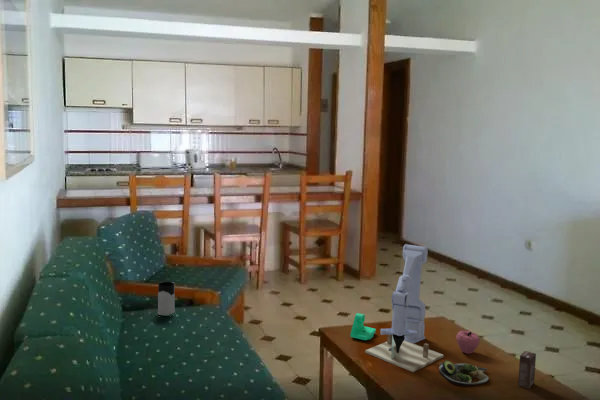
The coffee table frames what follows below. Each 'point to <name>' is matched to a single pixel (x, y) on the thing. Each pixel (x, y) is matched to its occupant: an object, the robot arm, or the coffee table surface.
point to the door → (392, 348)
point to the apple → (467, 341)
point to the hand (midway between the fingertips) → (397, 352)
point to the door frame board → (405, 354)
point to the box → (527, 369)
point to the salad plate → (462, 373)
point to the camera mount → (361, 328)
